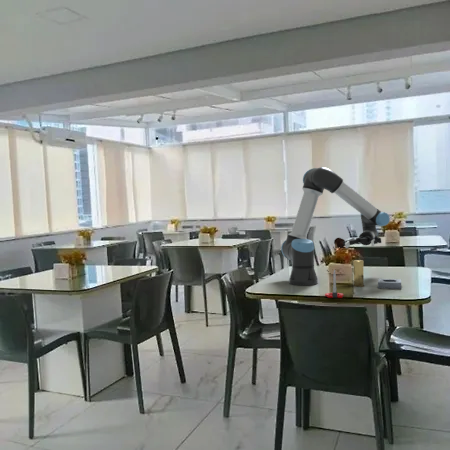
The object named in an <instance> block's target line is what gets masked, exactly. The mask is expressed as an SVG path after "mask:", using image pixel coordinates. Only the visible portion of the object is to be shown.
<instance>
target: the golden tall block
mask: <svg viewBox="0 0 450 450" xmlns="http://www.w3.org/2000/svg"><path fill="white" fill-rule="evenodd" d="M364 268H365V267H364V260H363V259H362V260H361V259H355V260H353V262H352V270H353V272H352V273H353V287H355V288H363V287H364V286H365V285H364V284H365V282H364V281H365V280H364V279H365V278H364V274H365V273H364V272H365V270H364Z"/></svg>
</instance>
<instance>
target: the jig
mask: <svg viewBox="0 0 450 450" xmlns="http://www.w3.org/2000/svg"><path fill="white" fill-rule="evenodd" d="M377 289H395V290H401V289H402V279H401V278H396V279H395V278H378V279H377Z"/></svg>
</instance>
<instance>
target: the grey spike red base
mask: <svg viewBox="0 0 450 450" xmlns="http://www.w3.org/2000/svg"><path fill="white" fill-rule="evenodd" d="M332 277H333V279H332V280H333V281H332V284H333V286H332V292H327V293H325V294H324V296H325V297H327V298H328V299H342V298H343V297H344V293H340V292H337V275H336V269H335V270H334V271H333V274H332Z"/></svg>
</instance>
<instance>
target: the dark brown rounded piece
mask: <svg viewBox="0 0 450 450" xmlns="http://www.w3.org/2000/svg"><path fill="white" fill-rule="evenodd" d="M343 241H346V240H345V239H343V238H341V237H336V238H335V239H334V240H333V243H334V249H335V248H337V247H340V248H344V247H345V246H344V245H343Z"/></svg>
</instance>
